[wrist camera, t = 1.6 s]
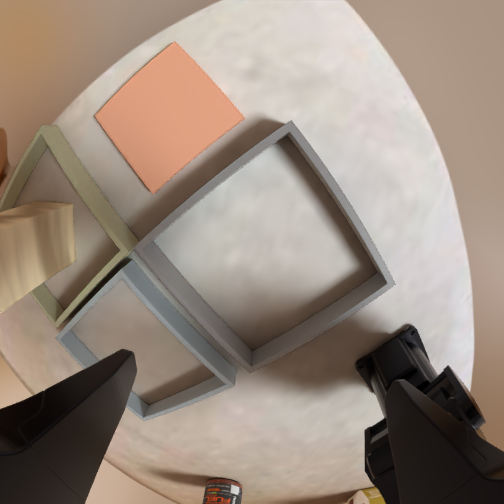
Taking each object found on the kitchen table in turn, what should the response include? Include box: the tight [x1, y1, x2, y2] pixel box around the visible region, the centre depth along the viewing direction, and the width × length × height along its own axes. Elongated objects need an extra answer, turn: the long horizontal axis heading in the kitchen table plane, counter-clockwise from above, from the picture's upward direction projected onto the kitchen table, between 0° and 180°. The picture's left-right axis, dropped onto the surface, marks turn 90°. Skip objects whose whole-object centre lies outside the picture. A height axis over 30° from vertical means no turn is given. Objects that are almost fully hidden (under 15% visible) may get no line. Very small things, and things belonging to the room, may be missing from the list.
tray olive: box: [0, 125, 139, 328], centre depth 19 cm, size 13×13×2 cm
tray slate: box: [55, 260, 237, 421], centre depth 22 cm, size 13×13×2 cm
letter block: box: [0, 201, 76, 314], centre depth 15 cm, size 5×5×10 cm
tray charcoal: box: [134, 120, 396, 373], centre depth 18 cm, size 13×13×2 cm
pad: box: [95, 42, 245, 194], centre depth 16 cm, size 8×8×1 cm
